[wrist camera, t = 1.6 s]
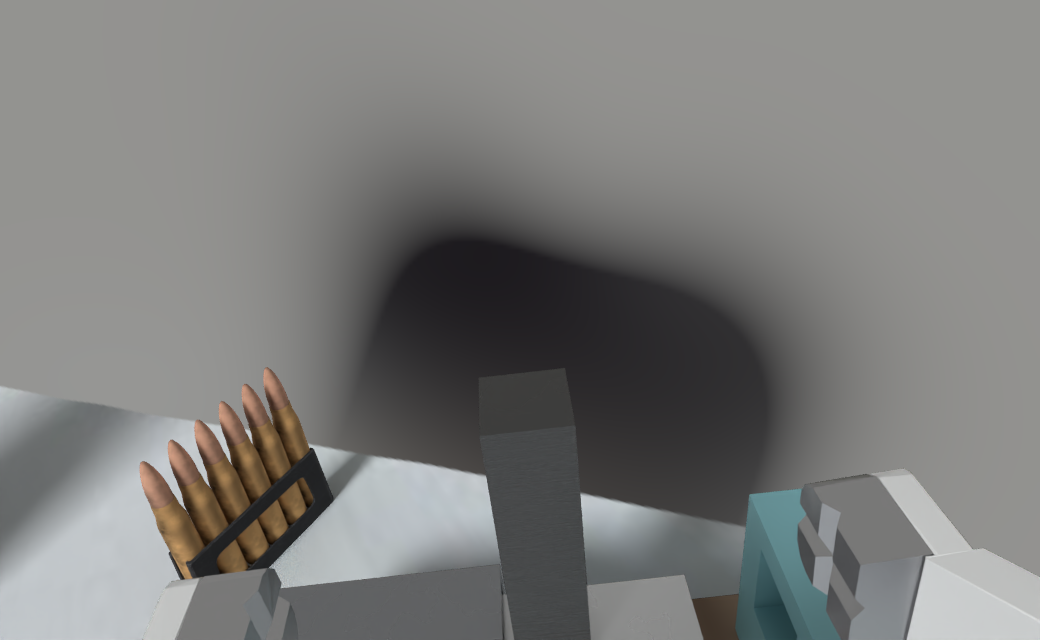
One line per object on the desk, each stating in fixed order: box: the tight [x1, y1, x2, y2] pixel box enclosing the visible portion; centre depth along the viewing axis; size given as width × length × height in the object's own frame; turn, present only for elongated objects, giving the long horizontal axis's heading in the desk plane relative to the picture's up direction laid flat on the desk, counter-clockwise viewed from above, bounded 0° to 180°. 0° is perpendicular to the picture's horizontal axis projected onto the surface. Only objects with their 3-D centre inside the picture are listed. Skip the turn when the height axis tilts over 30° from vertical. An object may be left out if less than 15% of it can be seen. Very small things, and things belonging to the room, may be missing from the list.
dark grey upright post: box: [479, 368, 703, 640], centre depth 28 cm, size 19×3×15 cm, turn 93°
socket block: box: [735, 489, 841, 640], centre depth 32 cm, size 5×8×10 cm, turn 3°
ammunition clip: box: [140, 367, 333, 580], centre depth 44 cm, size 11×2×12 cm, turn 151°
